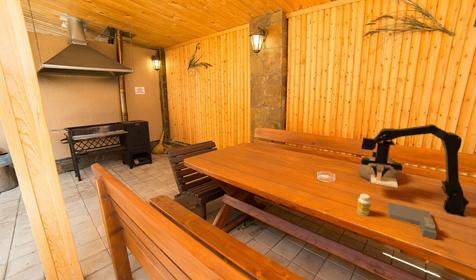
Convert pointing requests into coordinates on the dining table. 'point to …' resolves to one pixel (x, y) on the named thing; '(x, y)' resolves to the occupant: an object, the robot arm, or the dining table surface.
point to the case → (411, 217)
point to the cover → (383, 180)
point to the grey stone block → (428, 223)
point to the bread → (368, 171)
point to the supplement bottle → (363, 205)
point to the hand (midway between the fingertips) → (378, 177)
